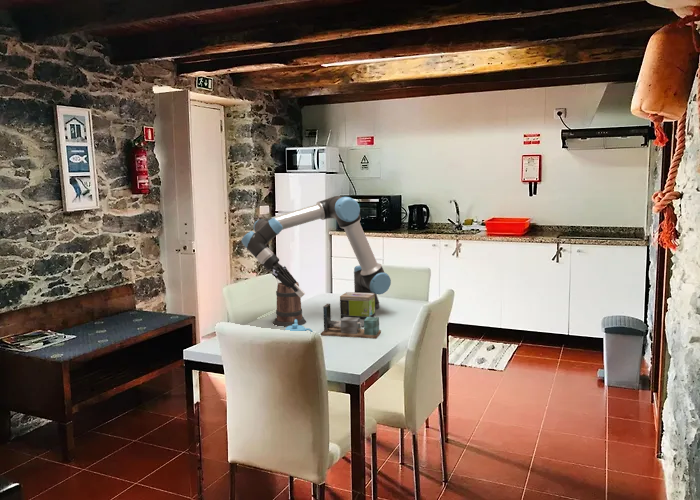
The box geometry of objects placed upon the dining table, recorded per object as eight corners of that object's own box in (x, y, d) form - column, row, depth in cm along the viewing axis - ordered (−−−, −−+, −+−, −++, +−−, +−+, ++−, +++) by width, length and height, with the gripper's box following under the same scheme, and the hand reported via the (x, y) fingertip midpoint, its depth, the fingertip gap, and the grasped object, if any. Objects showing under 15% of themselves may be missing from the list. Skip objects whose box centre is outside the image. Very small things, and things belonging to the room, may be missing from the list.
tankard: (307, 326, 286) (305, 285, 282) (271, 328, 284) (270, 287, 281) (305, 313, 309) (304, 276, 306) (273, 315, 307) (271, 277, 304)
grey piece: (323, 330, 272) (323, 306, 270) (327, 326, 278) (327, 303, 276) (358, 331, 268) (358, 308, 266) (362, 328, 273) (361, 305, 272)
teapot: (271, 350, 251) (270, 324, 249) (296, 342, 260) (295, 317, 259) (293, 358, 240) (292, 331, 238) (319, 350, 249) (318, 324, 248)
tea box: (375, 322, 291) (375, 292, 289) (369, 327, 281) (369, 297, 279) (346, 319, 296) (346, 291, 293) (340, 325, 286) (339, 295, 284)
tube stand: (320, 335, 270) (320, 319, 269) (327, 329, 280) (326, 313, 279) (376, 338, 264) (376, 322, 263) (380, 332, 274) (380, 316, 272)
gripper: (268, 262, 284) (302, 297, 282) (257, 267, 271) (292, 304, 270) (278, 251, 282) (312, 287, 280) (268, 256, 269) (303, 293, 268)
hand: (302, 295), depth 275 cm, fingers closed
